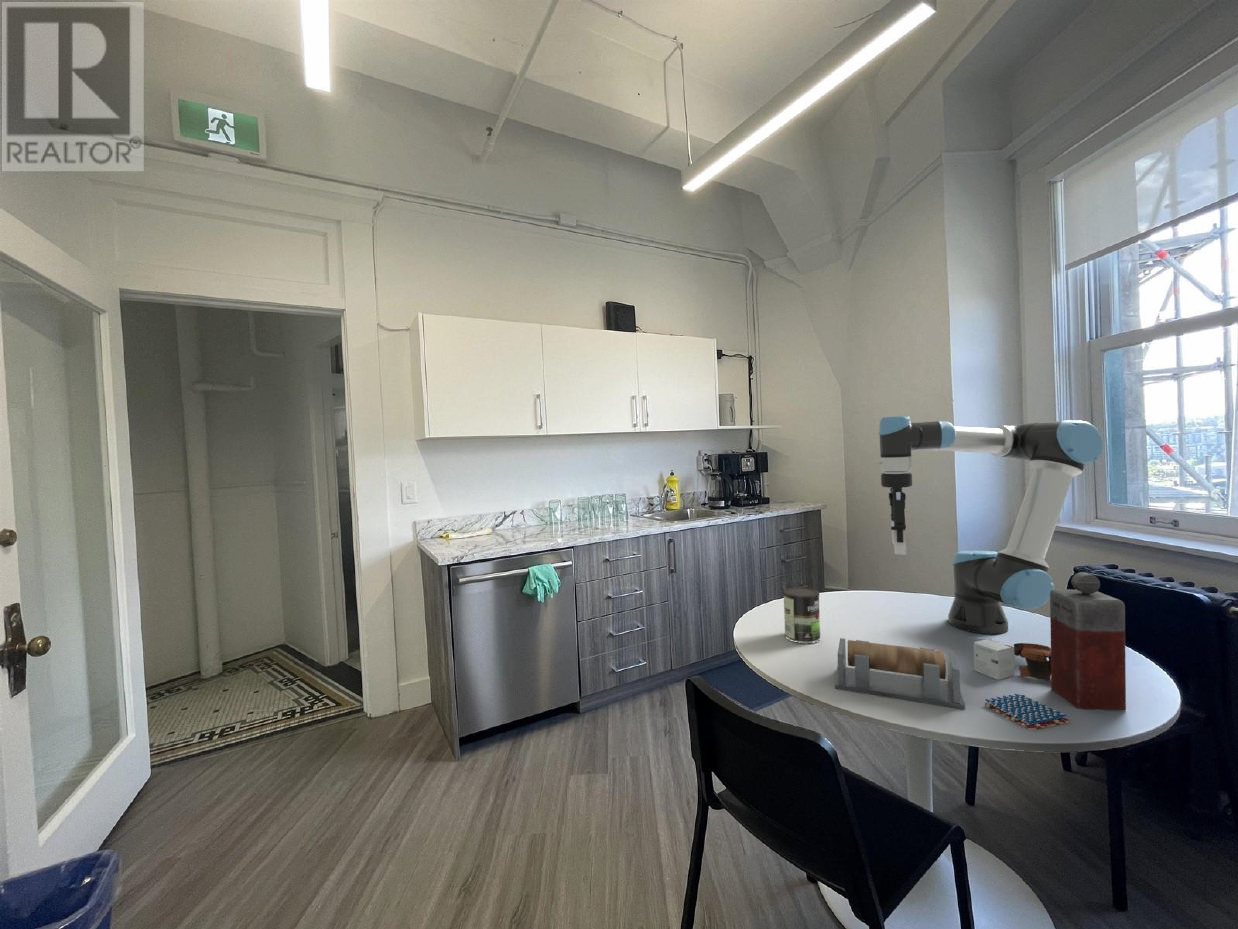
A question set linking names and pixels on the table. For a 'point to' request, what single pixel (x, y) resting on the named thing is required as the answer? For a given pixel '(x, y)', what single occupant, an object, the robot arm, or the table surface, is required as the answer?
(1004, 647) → the skincare box
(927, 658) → the tan cylinder
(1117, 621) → the red grey decanter
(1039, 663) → the orange brown curved figurine
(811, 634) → the coffee can
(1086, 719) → the table surface
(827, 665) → the table surface
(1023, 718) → the woven mat
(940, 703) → the bracket
